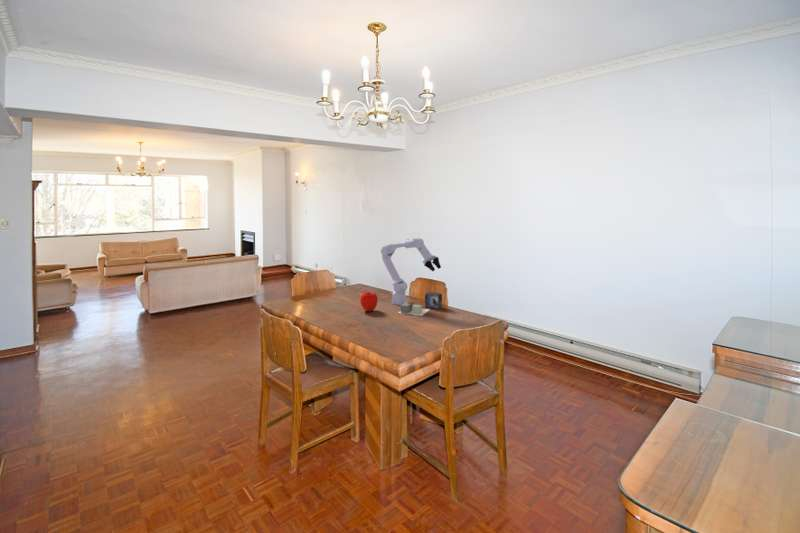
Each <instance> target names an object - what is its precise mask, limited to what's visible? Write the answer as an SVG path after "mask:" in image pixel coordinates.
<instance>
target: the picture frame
mask: <svg viewBox="0 0 800 533" xmlns="http://www.w3.org/2000/svg"><path fill="white" fill-rule="evenodd" d="M424 296H425V297H424V308H425V309H433V310H434V309H435V310H440V309H442V307H443V306H442V305H443V304H442V303H443V301H442V300H443V293H440V292H435V291H434V292H432V291H428V292H426V293H425V295H424Z"/></svg>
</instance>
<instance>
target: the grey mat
mask: <svg viewBox="0 0 800 533" xmlns="http://www.w3.org/2000/svg"><path fill="white" fill-rule="evenodd" d="M430 310H431V308H422V313H421V314H412V311H410V312H409V313H403V314H405V315H412V316H422V317H423V315H425V314H427V313H428V312H429V311H430ZM398 314H402V313H401V310H400V311H398Z"/></svg>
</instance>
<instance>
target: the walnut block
mask: <svg viewBox="0 0 800 533" xmlns="http://www.w3.org/2000/svg"><path fill="white" fill-rule="evenodd" d="M406 304H410V311H412V306H413V305H415V304H416V305H419V302H415V301H413V302H412V301H407V303H406Z"/></svg>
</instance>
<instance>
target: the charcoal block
mask: <svg viewBox="0 0 800 533" xmlns="http://www.w3.org/2000/svg"><path fill="white" fill-rule="evenodd" d="M400 311H401V313H400V314H404V313H409V312H410V304H402V305H400Z"/></svg>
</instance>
